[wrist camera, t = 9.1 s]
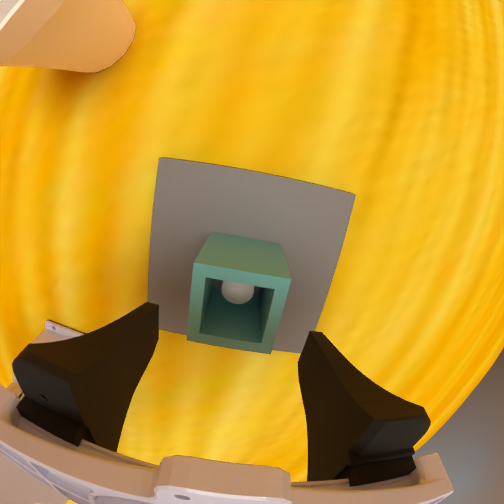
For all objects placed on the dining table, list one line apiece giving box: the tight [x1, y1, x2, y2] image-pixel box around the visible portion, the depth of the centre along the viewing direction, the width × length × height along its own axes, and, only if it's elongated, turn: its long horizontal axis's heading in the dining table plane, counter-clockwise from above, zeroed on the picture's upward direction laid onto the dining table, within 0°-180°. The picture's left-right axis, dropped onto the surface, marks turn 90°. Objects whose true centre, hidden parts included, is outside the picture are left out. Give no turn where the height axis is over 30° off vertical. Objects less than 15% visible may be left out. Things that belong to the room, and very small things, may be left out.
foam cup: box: [0, 0, 136, 73], centre depth 9 cm, size 10×9×13 cm
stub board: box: [148, 157, 356, 353], centre depth 19 cm, size 14×14×4 cm
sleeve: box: [187, 231, 291, 354], centre depth 18 cm, size 5×5×6 cm
